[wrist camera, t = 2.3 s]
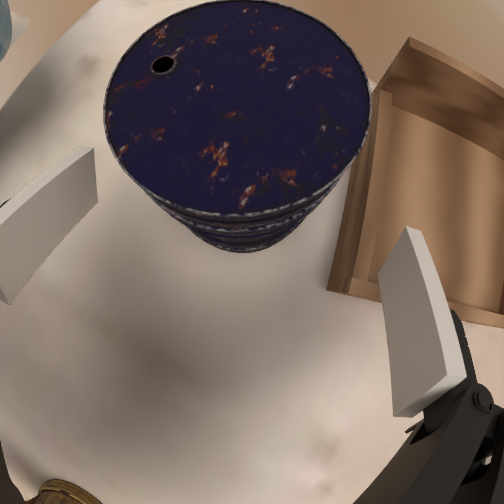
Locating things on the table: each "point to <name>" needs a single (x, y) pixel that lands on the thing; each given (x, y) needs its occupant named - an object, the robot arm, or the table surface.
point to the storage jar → (238, 118)
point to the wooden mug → (62, 494)
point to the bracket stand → (430, 183)
